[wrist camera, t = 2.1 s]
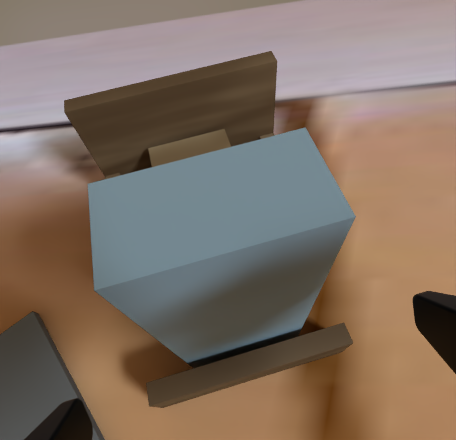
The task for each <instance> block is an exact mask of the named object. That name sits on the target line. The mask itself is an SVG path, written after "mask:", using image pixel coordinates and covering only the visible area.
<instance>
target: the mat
mask: <svg viewBox="0 0 456 440" xmlns="http://www.w3.org/2000/svg"><path fill="white" fill-rule="evenodd" d="M75 398H79V399H81V400H82V402H83V404H84V406H85V408H86V411H87V413H88V415H89V418H90V420H91V422H92V426H93V437H92V440H105V439H104V437H103V435H102V434H101V432H100V430H99V428H98V426H97V424H96V422H95V420H94V418H93V416H92V415H91V413H90V411H89V409H88V407H87V405H86V403H85V401H84V399H83V397H82V396H81V394H80V392H79V390H78V388H77V386H76V384H75V382H74V380H73V378H72V377H71V375H70V373H69V371H68V369H67V367H66V365H65V363H64V361H63V360H62V358H61V356H60V354H59V352H58V350H57V348H56V346H55V344H54V342H53V341H52V339H51V337H50V335H49V333H48V331H47V329H46V327H45V325H44V323H43V322H42V320H41V318H40V316H39V314H38V313H36V312H33V311H32V312H31V313H30V314H28V315H27V316H25V317H24V318H23V319H21V320H20V321H18V322H17V323H16V324H14V325H13V326H11V327H10V328H9V329H7V330H6V331H4V332H3V333H2V334H0V440H24V439H25V438H26V437H27V436H28V435H29V434H30V433H31V432H32V431H33V430H34V429H35V428H36V427H37V426H38V425H39V424H40V423H41V422H42V421H44V420H45V419H46V418H47V417H48V416H49V415H50V414H51V413H52V412H53V411H54V410H55V409H56V408H57V407H58V406H59V405H60V404H61V403H63V402H65V401H68V400H72V399H75Z"/></svg>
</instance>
